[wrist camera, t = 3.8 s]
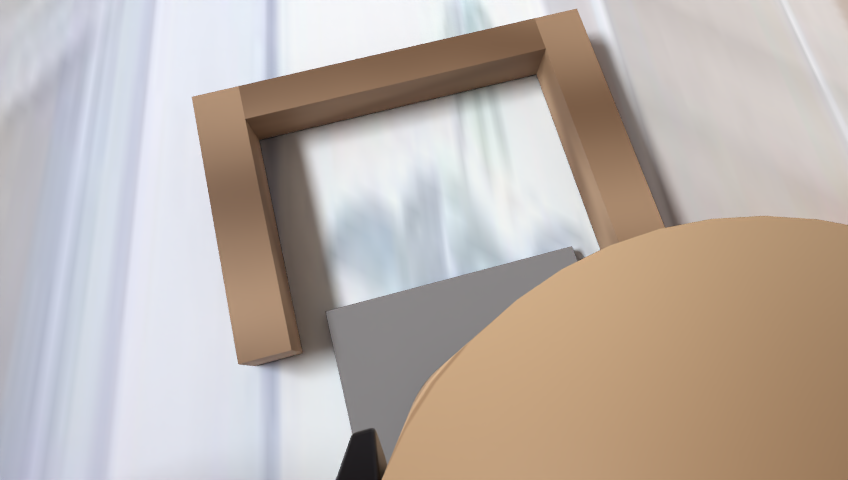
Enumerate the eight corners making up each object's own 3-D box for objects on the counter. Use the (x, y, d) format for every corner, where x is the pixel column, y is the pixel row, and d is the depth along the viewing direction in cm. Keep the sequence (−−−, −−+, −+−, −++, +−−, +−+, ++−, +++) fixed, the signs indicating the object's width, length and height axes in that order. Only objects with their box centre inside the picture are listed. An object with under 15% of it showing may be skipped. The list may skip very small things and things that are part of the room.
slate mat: (686, 586, 15) (693, 592, 14) (408, 675, 14) (407, 684, 14) (568, 249, 17) (572, 246, 17) (327, 312, 17) (325, 311, 16)
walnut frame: (651, 258, 17) (673, 247, 16) (254, 366, 16) (238, 363, 15) (565, 36, 19) (576, 8, 18) (209, 119, 18) (191, 97, 17)
